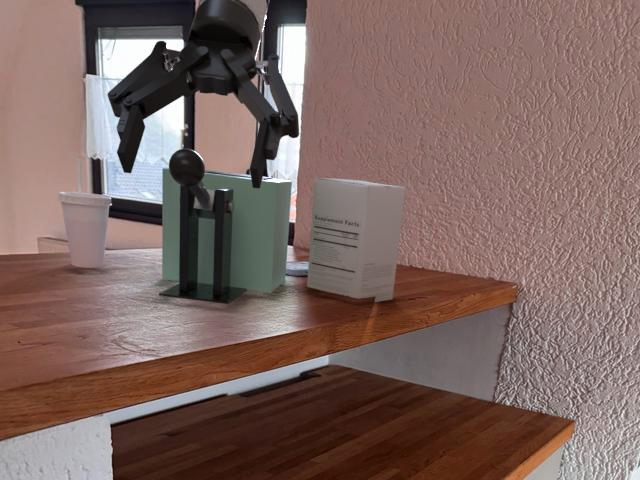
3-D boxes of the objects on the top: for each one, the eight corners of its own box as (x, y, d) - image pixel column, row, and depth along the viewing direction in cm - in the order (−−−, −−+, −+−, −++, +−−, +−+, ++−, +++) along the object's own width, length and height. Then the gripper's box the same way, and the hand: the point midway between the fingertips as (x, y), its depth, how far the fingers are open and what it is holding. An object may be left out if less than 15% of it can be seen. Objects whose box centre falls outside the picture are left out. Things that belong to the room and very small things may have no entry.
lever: (197, 179, 72) (202, 144, 73) (162, 175, 73) (167, 139, 73) (223, 225, 85) (227, 195, 85) (192, 222, 85) (196, 191, 85)
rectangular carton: (342, 289, 107) (353, 179, 101) (394, 300, 102) (408, 186, 96) (303, 293, 100) (312, 175, 94) (356, 306, 95) (369, 183, 89)
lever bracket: (227, 312, 83) (232, 192, 78) (158, 303, 83) (158, 183, 78) (246, 298, 92) (251, 190, 87) (184, 290, 92) (185, 182, 87)
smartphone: (348, 268, 123) (295, 270, 110) (347, 274, 123) (294, 278, 111) (312, 261, 126) (257, 262, 114) (311, 267, 126) (256, 269, 114)
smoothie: (68, 266, 99) (63, 154, 93) (117, 271, 100) (115, 160, 94) (56, 274, 93) (49, 154, 87) (108, 279, 94) (105, 161, 88)
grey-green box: (271, 300, 93) (278, 181, 87) (160, 286, 93) (161, 166, 87) (285, 287, 103) (293, 179, 97) (186, 275, 103) (188, 166, 98)
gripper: (110, -19, 79) (56, 126, 72) (337, 7, 79) (308, 156, 71) (128, 45, 86) (81, 183, 79) (337, 69, 86) (311, 210, 78)
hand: (189, 171), depth 75 cm, fingers open, 13 cm apart
